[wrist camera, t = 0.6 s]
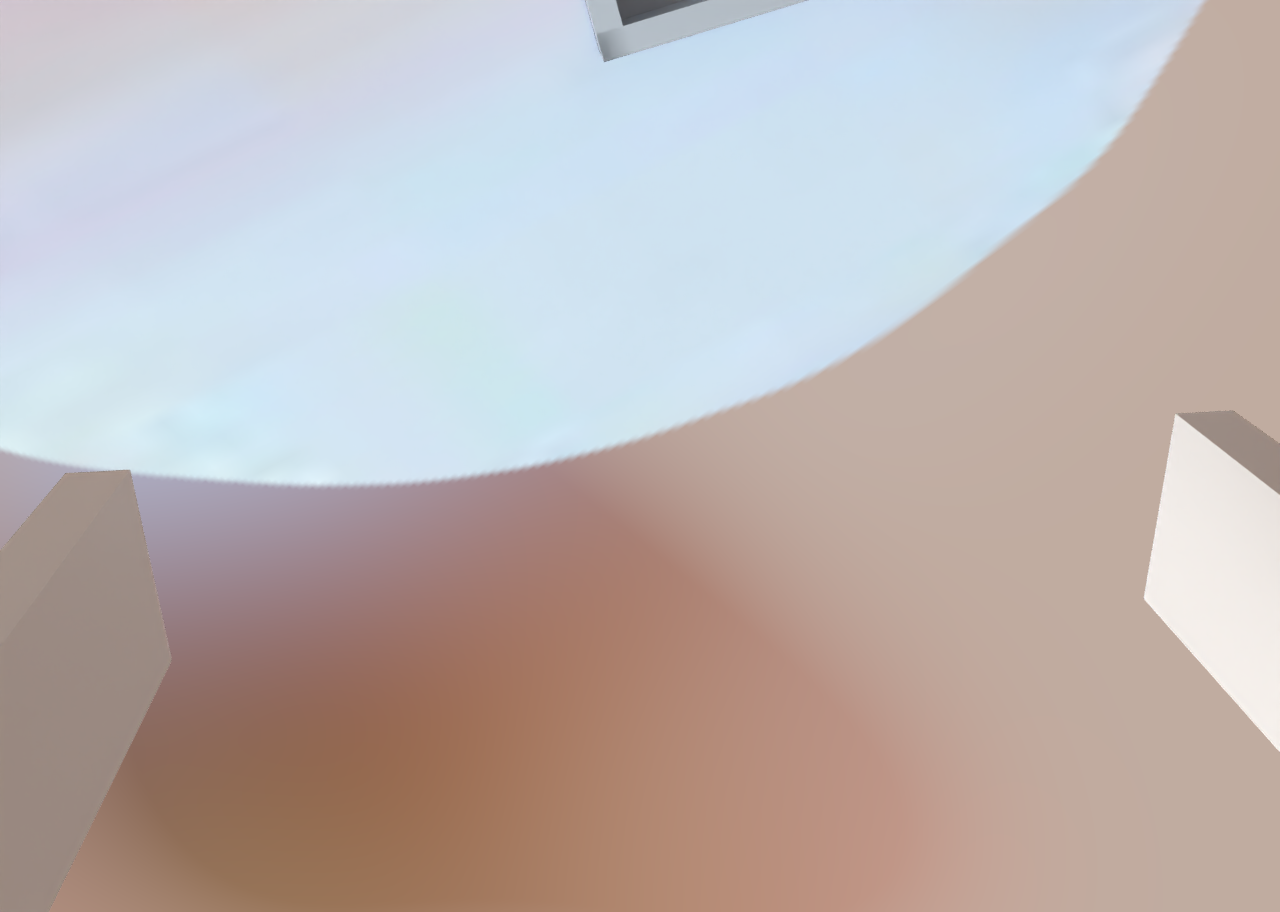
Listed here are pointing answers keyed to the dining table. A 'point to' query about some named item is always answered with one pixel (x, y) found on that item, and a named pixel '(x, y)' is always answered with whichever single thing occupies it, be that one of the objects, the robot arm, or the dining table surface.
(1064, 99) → the dining table surface
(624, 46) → the tray
